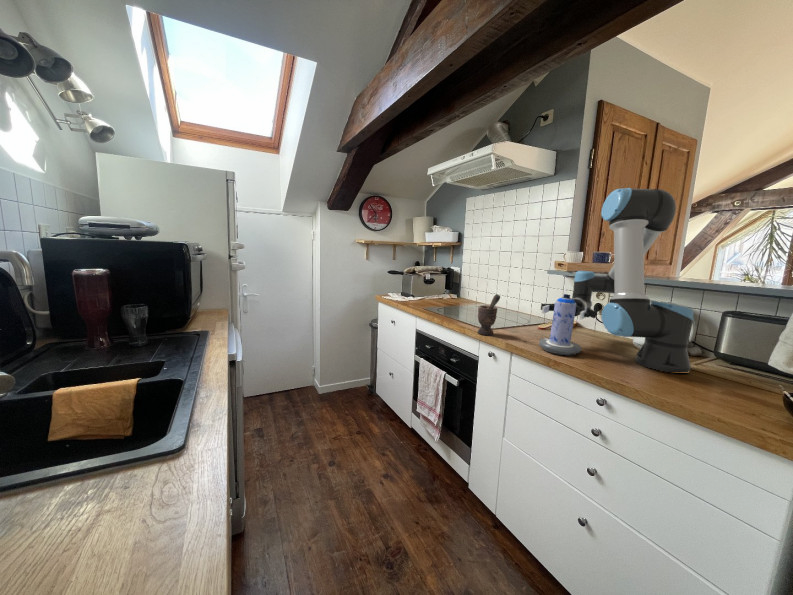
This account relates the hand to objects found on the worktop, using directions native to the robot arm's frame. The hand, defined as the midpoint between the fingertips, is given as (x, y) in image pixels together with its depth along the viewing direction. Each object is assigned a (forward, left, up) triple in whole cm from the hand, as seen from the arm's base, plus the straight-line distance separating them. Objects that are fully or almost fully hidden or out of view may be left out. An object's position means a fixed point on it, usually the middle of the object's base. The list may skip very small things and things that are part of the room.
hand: (561, 312), depth 120 cm
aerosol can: (+2, -3, -13) cm, 14 cm away
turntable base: (+1, -3, -16) cm, 17 cm away
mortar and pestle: (+29, +10, -16) cm, 35 cm away
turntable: (+1, -3, -15) cm, 15 cm away
